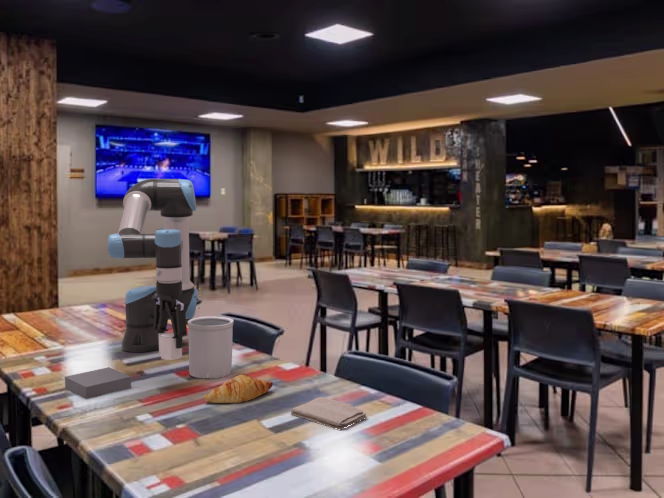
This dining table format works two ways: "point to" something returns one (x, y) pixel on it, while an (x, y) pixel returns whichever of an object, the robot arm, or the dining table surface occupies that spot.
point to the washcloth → (329, 412)
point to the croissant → (238, 390)
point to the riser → (97, 382)
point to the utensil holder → (210, 346)
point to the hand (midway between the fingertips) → (170, 355)
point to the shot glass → (166, 345)
